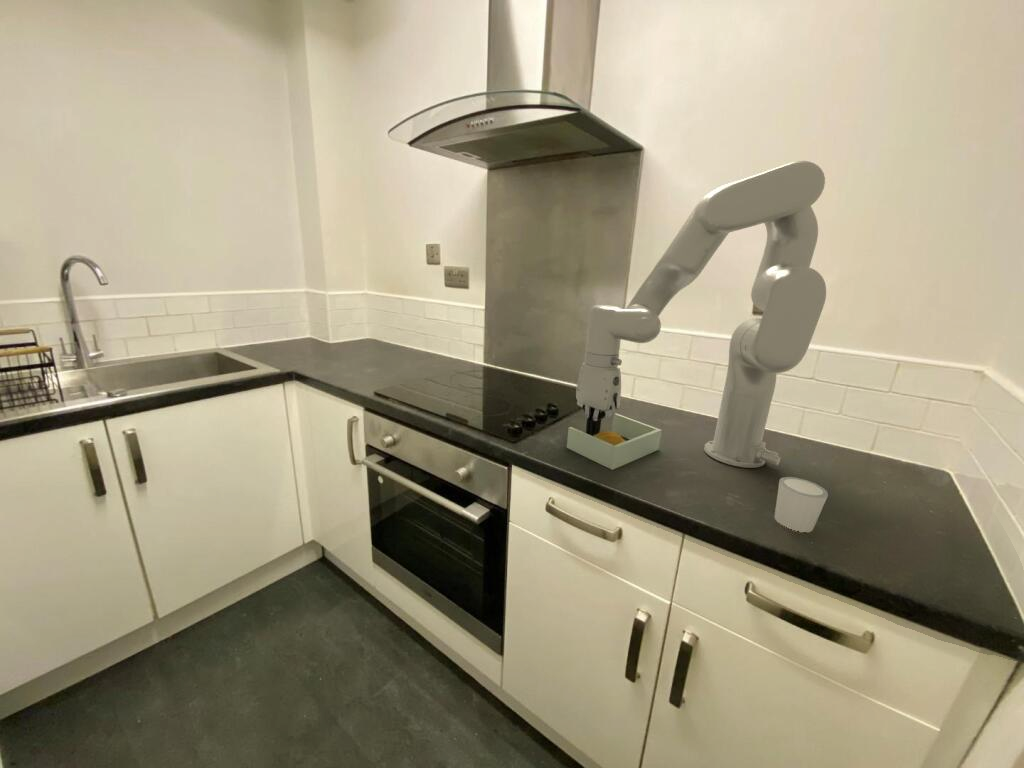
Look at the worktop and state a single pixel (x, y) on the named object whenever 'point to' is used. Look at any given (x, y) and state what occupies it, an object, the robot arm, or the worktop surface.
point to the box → (610, 456)
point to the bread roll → (610, 437)
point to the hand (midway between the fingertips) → (592, 433)
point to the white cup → (799, 503)
